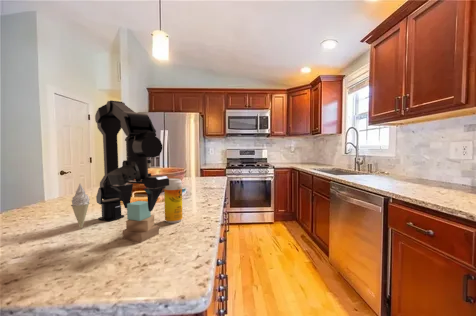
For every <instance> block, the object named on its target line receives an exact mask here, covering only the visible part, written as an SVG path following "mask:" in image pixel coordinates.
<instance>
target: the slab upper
mask: <svg viewBox="0 0 476 316" xmlns="http://www.w3.org/2000/svg"><path fill="white" fill-rule="evenodd" d="M153 225H155V215H154V214H151V217H149V218H146V219H143V220H141V221H137V220H128V219H126V220H125V227H126V228H125V229H126V232H128V231H148V230H149V229H150V228H151V227H152V226H153Z"/></svg>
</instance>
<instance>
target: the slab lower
mask: <svg viewBox="0 0 476 316" xmlns="http://www.w3.org/2000/svg"><path fill="white" fill-rule="evenodd" d="M159 229H160V227H159V225H157V224H154V225H153V226H152V227H151V228H150V229H149V230H148V231H128V232H126V228H124V229H122V239H123V240H126V241H131V242H132V241H133V242H139V243H143V242H145V241H147V240H150V239H152V238H154V237H155V236H158V235H160V230H159Z"/></svg>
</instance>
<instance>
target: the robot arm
mask: <svg viewBox="0 0 476 316" xmlns="http://www.w3.org/2000/svg"><path fill="white" fill-rule="evenodd" d="M94 119H95V123H96V125H97V130H98V131H99V132H100V134H101V135H102V142H103V143H102V144H103V145H102V146H103V165H104V166H103V167H104V168H103V171H104V175H103V177H102V178H101V180H100V181H99V188H98V190H97V192H96V193H97V194H96V197H95V199H96V203H97V204H98V205H101V206H100V207H101V216H100V217H97V219H98V220H99V221H106V222H111V221H115V220H118V219H121V218H124V217H125V215H124V214H122V204H123V207H124V209H127V204H129V203H131V199H132V195H133V193H132V192H133V186H134V184H139V185H140V184H141V185H144V187H145V188H143V190H144V191H145V193H146V194H147V195H146V196H147V202H148V209H149V211H151V212H152V211H153V210H154V208H155V206H156V203H157V201H158V199H159V197H160V195H161V194H162V192H163V190H164V188H166V186H168V185H169V179H170V178H169V177H168V176H167V175H152V173H149V164H151V163H152V161H151V159H148V158H156V157H158V156H160V155H161V153H162V151H163V144H162V141H161V140H160V138H159V137H157V130H156V129H155V127H154V125H153V123H152V120H151V118H150V116H149V115H148V114H146V113H142V112H136V111H135V110H133V109H132V108H130V107H129V106H128V105H126V103H125V102H123V101H119V100H107V102H106V104H103V105H101V106H100V107H97V110H96V112H95V115H94ZM121 129H122V131H123V133H124V135H125V136H126V137H125V138H124V141H125V146H126V147H125V153H126V155H125V156H126V159H125V160H123V161H122V165H121V166H120V167H119V149H118V135H119V133H120V131H121ZM121 202H122V203H121Z"/></svg>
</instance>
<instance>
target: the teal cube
mask: <svg viewBox="0 0 476 316" xmlns="http://www.w3.org/2000/svg"><path fill="white" fill-rule="evenodd" d="M151 212H152V211H149V209H148V200H147V201H145V200H137V201H133V202H130V203H129V204H127V208H126V216H127V218H126V220H137V221H141V220H143V219H146V218H149V217H151V215H152V213H151Z"/></svg>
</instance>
